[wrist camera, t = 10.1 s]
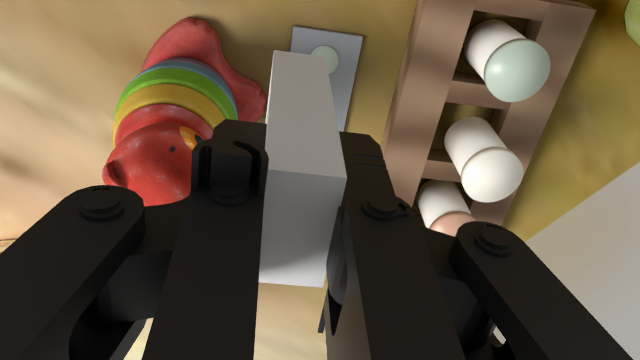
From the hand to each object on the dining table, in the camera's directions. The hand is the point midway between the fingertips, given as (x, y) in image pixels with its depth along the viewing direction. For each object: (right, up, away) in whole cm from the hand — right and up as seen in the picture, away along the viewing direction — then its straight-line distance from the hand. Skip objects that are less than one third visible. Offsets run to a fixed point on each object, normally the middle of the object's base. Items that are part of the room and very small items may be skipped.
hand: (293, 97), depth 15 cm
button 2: (+16, +9, +29) cm, 34 cm away
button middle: (+14, +1, +31) cm, 35 cm away
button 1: (+13, -4, +37) cm, 40 cm away
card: (0, +4, +32) cm, 32 cm away
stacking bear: (-11, +6, +31) cm, 33 cm away
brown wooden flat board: (+14, +3, +34) cm, 37 cm away
